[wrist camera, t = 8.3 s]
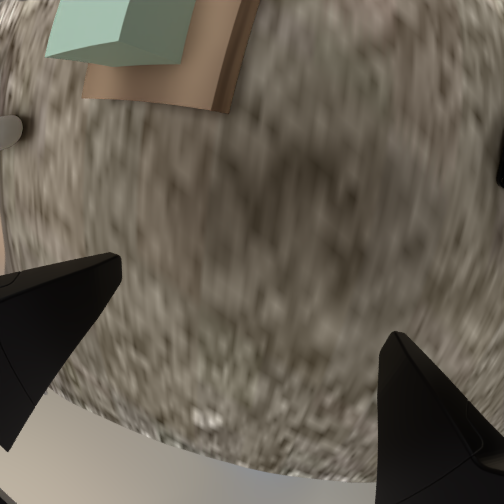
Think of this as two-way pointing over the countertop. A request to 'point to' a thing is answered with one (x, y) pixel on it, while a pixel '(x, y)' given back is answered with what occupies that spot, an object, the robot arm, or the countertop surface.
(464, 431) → the robot arm
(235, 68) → the walnut base
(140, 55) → the sage block
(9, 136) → the donut
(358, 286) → the countertop surface
